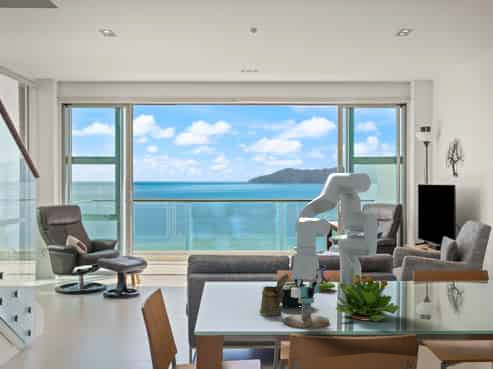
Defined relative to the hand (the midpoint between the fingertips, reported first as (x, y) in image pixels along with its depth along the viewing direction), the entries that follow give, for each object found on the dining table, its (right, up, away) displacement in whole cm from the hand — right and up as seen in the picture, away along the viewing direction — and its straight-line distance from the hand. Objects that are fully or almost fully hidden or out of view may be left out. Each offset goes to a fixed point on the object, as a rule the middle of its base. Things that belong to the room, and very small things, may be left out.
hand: (306, 296), depth 239 cm
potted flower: (+24, -11, +9) cm, 27 cm away
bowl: (-3, -10, +31) cm, 33 cm away
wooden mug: (-12, -11, +14) cm, 22 cm away
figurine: (+15, -10, +68) cm, 71 cm away
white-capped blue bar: (0, -2, 0) cm, 2 cm away
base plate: (0, -11, 0) cm, 11 cm away
